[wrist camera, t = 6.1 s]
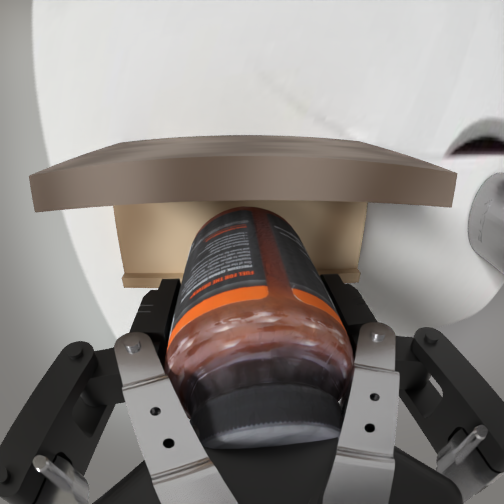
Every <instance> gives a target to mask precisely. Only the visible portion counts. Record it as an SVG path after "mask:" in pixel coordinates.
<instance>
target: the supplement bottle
mask: <svg viewBox="0 0 504 504" xmlns="http://www.w3.org/2000/svg"><path fill="white" fill-rule="evenodd" d="M353 361H354V356H353V351H352V347H351V344H350V341H349V338H348V335H347V332H346V330H345V328H344V326H343V324H342V322H341V320H340V316H339V315H338V313H337V311H336V309H335V307H334V305H333V302H332V300H331V298H330V296H329V294H328V292H327V290H326V288H325V286H324V284H323V282H322V280H321V278H320V276H319V274H318V272H317V270H316V268H315V266H314V265H313V262H312V260H311V259H310V257H309V255H308V253H307V251H306V249H305V247H304V245H303V243H302V241H301V239H300V238H299V236H298V234H297V233H296V232H295V230H294V229H293V228H292V226H291V225H290V224H289V223H288V222H287V221H286V220H285V219H284V218H282V217H281V216H279V215H278V214H276V213H274V212H272V211H269V210H266V209H263V208H258V207H248V206H241V207H236V208H231V209H228V210H225V211H223V212H221V213H219V214H217V215H215V216H214V217H212V218H211V219H210V220H208V221H207V222H206V223H205V224H204V225H203V226H202V227H201V228H200V230H199V231H198V233H197V234H196V236H195V238H194V240H193V243H192V245H191V248H190V251H189V255H188V259H187V263H186V266H185V270H184V274H183V278H182V282H181V286H180V290H179V295H178V300H177V304H176V307H175V312H174V317H173V322H172V327H171V331H170V336H169V341H168V347H167V352H166V357H165V366H164V372H165V375H166V374H167V376H168V377H169V380H170V382H171V384H172V386H173V388H174V391H175V393H176V395H177V397H178V399H179V401H180V403H181V405H182V408H183V410H184V412H185V414H186V416H187V418H189V419H190V424H191V426H193V425H196V426H197V427H198V428H199V433H200V437H199V439H200V443H201V445H202V446H204V447H208V448H212V449H241V448H259V447H270V446H280V445H288V444H296V443H304V442H313V441H321V440H326V439H332V438H336V437H338V434H339V430H340V426H341V423H340V417H342V416H341V415H342V409H341V406H340V405H339V403H338V401H339V400H340V399H341V398H342V396H343V395H344V393H345V391H346V389H347V387H348V383H349V380H350V376H351V371H352V366H353Z"/></svg>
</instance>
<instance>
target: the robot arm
mask: <svg viewBox="0 0 504 504" xmlns="http://www.w3.org/2000/svg"><path fill="white" fill-rule="evenodd" d="M468 233H469V240H470V243H471V246H472V248H473V249H474V251H475V252H476V253H478V254H479V255H480V256H482V257H483V258H484V259H485V260H487V261H488V262H489V263H490V264H492V265H493V266H494V267H495V268H496V269H498V270H499V271H500V272H501V273H502V274H504V173H496V174H494V175H492V176H491V177H490V178H488V179H487V180H486V181H485V182H484V184H483V185H482V186H481V188H480V189H479V191H478V193H477V195H476V197H475V199H474V202H473V204H472V208H471V212H470V217H469V225H468ZM320 278H321V280H322V282H323V284H324V286H325V288H326V290H327V292H328V294H329V296H330V298H331V300H332V302H333V305H334V307H335V309H336V311H337V313H338V315H339V316H340V320H341V322H342V324H343V326H344V328H345V330H346V332H347V335H348V338H349V341H350V344H351V347H352V351H353V356H354V361H353V366H352V371H351V376H350V380H349V383H348V387H347V389H346V391H345V393H344V395H343V396H342V398H341V400H340V404H339V405H340V406H341V409H342V415H341V416H342V417H340V423H341V426H340V430H339V434H338V437H336V438H332V439H326V440H321V441H313V442H304V443H296V444H288V445H280V446H270V447H259V448H241V449H212V448H208V447H204V446H202V445H201V443H200V439H199V437H200V433H199V428H198V427H197V426H196V425H193V426H191V424H190V422H189V420H188V418H187V416H186V414H185V412H184V410H183V408H182V405H181V403H180V401H179V399H178V397H177V395H176V393H175V391H174V388H173V386H172V384H171V382H170V380H169V377H168V376H167V374H166V375H165V372H164V366H165V357H166V352H167V347H168V341H169V336H170V331H171V327H172V322H173V317H174V312H175V307H176V304H177V300H178V295H179V290H180V286H181V282H180V279H179V278H171V279H162V280H161V283H160V286H159V288H158V290H150V291H149V292H148V293H147V294H146V295H145V296H144V297H143V299H142V302H141V304H140V307H139V309H138V312H137V314H136V317H135V319H134V322H133V324H132V327H131V329H130V332H129V333H127V334H125V335H123V336H121V337H120V338H119V339H118V340H117V341H116V343H115V345H114V347H113V348H110V349H105V350H99V351H94V349H93V347H92V346H91V345H90V344H89V343H87V342H83V341H78V342H74V343H71V344H69V345H67V346H66V347H65V348H64V349H63V350H62V351H61V353H60V354H59V355H58V357H57V358H56V360H55V361H54V362H53V364H52V365H51V367H50V368H49V369H48V371H47V372H46V374H45V375H44V377H43V378H42V380H41V381H40V382H39V384H38V385H37V387H36V388H35V390H34V391H33V393H32V395H31V396H30V398H29V399H28V401H27V403H26V404H25V406H24V407H23V409H22V410H21V412H20V413H19V415H18V417H17V418H16V420H15V422H14V423H13V425H12V426H11V428H10V430H9V431H8V433H7V435H6V437H5V438H4V440H3V442H2V444H1V445H0V497H1V498H3V499H4V500H6V501H7V502H9V503H10V504H88V499H89V485H88V482H87V480H86V479H85V477H84V474H85V472H86V470H87V467H88V465H89V463H90V460H91V458H92V455H93V453H94V451H95V448H96V446H97V444H98V442H99V440H100V437H101V435H102V433H103V431H104V428H105V426H106V424H107V422H108V419H109V417H110V415H111V413H112V411H113V409H114V407H115V404H117V403H123V402H126V405H127V409H128V412H129V415H130V419H131V421H132V425H133V428H134V431H135V434H136V437H137V440H138V442H139V446H140V449H141V451H142V454H143V457H144V459H145V460H144V461H143V462H141V463H140V464H139V465H138V466H137V467H136V468H135V469H133V470H132V471H131V472H130V473H129V474H128V475H127V476H126V477H124V478H123V479H122V480H121V481H120V482H118V483H117V484H116V485H115V486H113V487H112V488H111V489H110V490H109V491H108V492H106V493H105V494H104V495H103V496H101V497H100V498H99V499H98V500H96V501H95V502H94V503H92V504H463V503H464V502H466V501H467V500H468V499H470V498H471V497H472V496H473V495H476V494H477V493H479V492H481V491H482V490H483V489H485V488H486V487H488V486H489V485H490V484H492V483H493V482H494V481H496V480H497V479H498V478H499V477H501V476H502V475H503V474H504V402H503V401H502V399H501V398H500V397H499V396H498V395H497V393H496V392H495V391H494V390H493V389H492V388H491V386H490V385H489V384H488V383H487V382H486V381H485V379H484V378H483V377H482V376H481V375H480V374H479V373H478V372H477V370H476V369H475V368H474V367H473V366H472V365H471V364H470V363H469V361H467V359H466V358H465V357H464V356H463V355H462V354H461V353H460V352H459V351H458V350H457V348H456V347H455V346H454V345H453V344H452V343H451V342H450V341H449V340H448V339H447V338H446V337H445V336H444V335H443V334H442V333H441V332H440V331H438V330H436V329H434V328H429V327H423V328H420V329H418V330H417V331H416V333H415V335H414V338H412V337H401V336H395V333H394V331H393V330H392V329H391V328H390V327H389V326H387V325H385V324H383V323H379V322H377V321H376V319H375V317H374V316H373V314H372V312H371V311H370V309H369V307H368V306H367V304H366V303H365V301H364V299H362V296H361V295H360V293H359V292H358V290H357V289H356V288H354V287H353V286H351V285H350V284H344V283H343V281H342V279H341V278H340V276H339V275H338V274H321V275H320ZM431 375H432V377H433V378H434V379H435V380H436V382H437V383H438V384H439V385H440V387H441V388H442V391H443V398H442V397H441V395H440V394H439V392H438V391H437V390H436V388H435V387H434V386H433V385H432V383H431V382H430V381H429V378H430V377H431ZM399 397H400V398H401V399H402V401H403V402H404V404H405V405H406V407H407V408H408V410H409V411H410V413H411V414H412V416H413V417H414V419H415V420H416V422H417V423H418V425H419V427H420V428H421V429H422V431H423V433H424V434H425V436H426V437H427V439H428V440H429V442H430V443H431V445H432V447H433V448H434V450H435V451H436V453H437V454H438V455H437V459H436V463H437V468H436V470H434V469H432V468H430V467H428V466H427V465H425V464H424V463H422V462H420V461H418V460H417V459H415V458H414V457H412V456H410V455H409V454H407V453H405V452H404V451H402V450H401V449H399V448H397V447H396V446H394V442H395V432H396V424H397V412H398V399H399Z"/></svg>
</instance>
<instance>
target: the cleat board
mask: <svg viewBox="0 0 504 504" xmlns="http://www.w3.org/2000/svg"><path fill="white" fill-rule="evenodd" d="M29 179H30V186H31V192H32V198H33V204H34V209H35V212H44V211H54V210H65V209H76V208H87V207H100V206H113V208H114V215H115V222H116V228H117V235H118V240H119V246H120V252H121V257H122V262H123V267H124V272H125V273H124V275H123V277H122V281H123V286H124V288H159V286H160V283H161V280H162V279H171V278H179V279H180V282H182V278H183V274H184V270H185V266H186V263H187V259H188V255H189V251H190V248H191V245H192V243H193V240H194V238H195V236H196V234H197V233H198V231H199V230H200V228H201V227H202V226H203V225H204V224H205V223H206V222H207V221H208V220H210V219H211V218H212V217H214V216H215V215H217V214H219V213H221V212H223V211H225V210H228V209H231V208H236V207H241V206H248V207H258V208H263V209H266V210H269V211H272V212H274V213H276V214H278V215H279V216H281V217H282V218H284V219H285V220H286V221H287V222H288V223H289V224H290V225H291V226H292V228H293V229H294V230H295V232H296V233H297V234H298V236H299V238H300V239H301V241H302V243H303V245H304V247H305V249H306V251H307V253H308V255H309V257H310V259H311V260H312V262H313V265H314V266H315V268H316V270H317V272H318V274H319V276H320V275H321V274H338V275H339V276H340V278H341V279H342V281H343V283H356V282H359V279H360V274H361V273H360V271H359V270H358V269H357V267H358V262H359V256H360V250H361V244H362V238H363V232H364V225H365V219H366V212H367V204H368V202H373V203H393V204H410V205H425V206H439V207H452V202H453V197H454V191H455V185H456V179H457V173H455V172H452V171H450V170H447V169H445V168H442V167H439V166H436V165H434V164H431V163H428V162H425V161H422V160H419V159H416V158H413V157H410V156H407V155H404V154H401V153H398V152H394V151H391V150H388V149H384V148H381V147H378V146H374V145H370V144H367V143H363V142H359V141H350V140H340V139H328V138H313V137H295V136H262V135H229V136H196V137H178V138H164V139H152V140H141V141H132V142H123V143H118V144H115V145H112V146H108V147H105V148H102V149H99V150H96V151H93V152H90V153H87V154H84V155H81V156H78V157H76V158H73V159H70V160H67V161H65V162H62V163H59V164H57V165H54V166H52V167H49V168H47V169H44V170H42V171H39V172H37V173H35V174H32V175H30V176H29Z"/></svg>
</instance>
